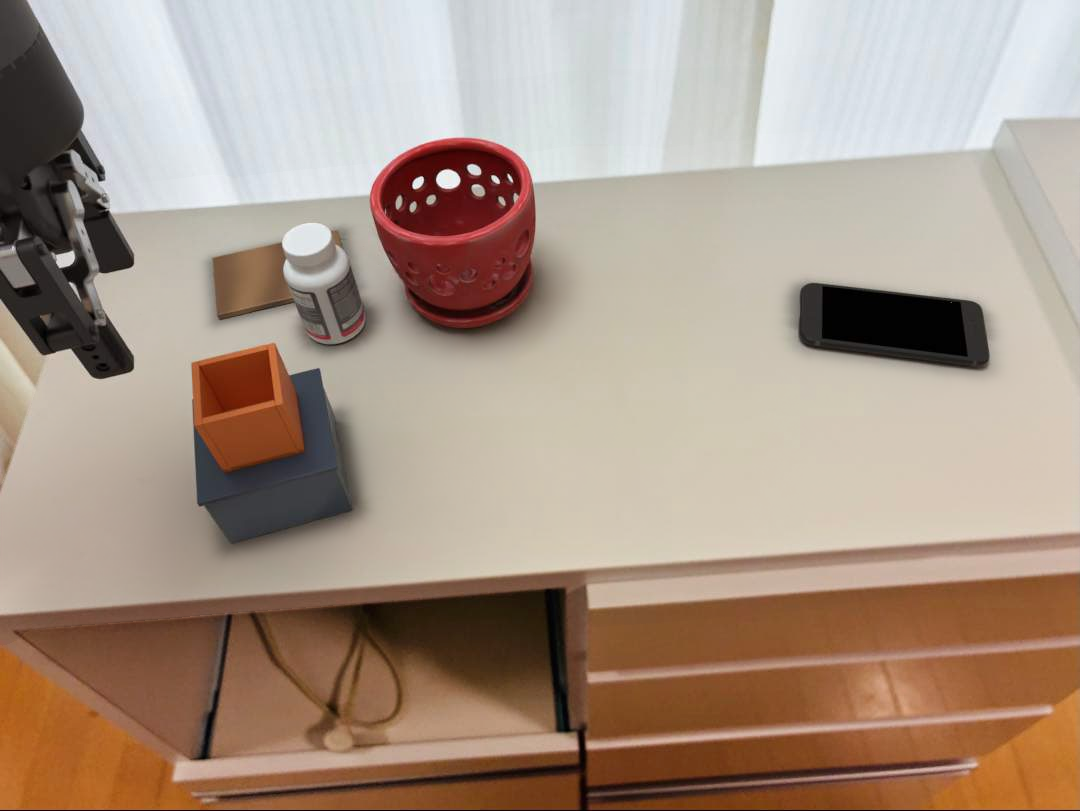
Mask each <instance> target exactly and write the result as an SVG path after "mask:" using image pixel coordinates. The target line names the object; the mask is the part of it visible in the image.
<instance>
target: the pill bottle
mask: <svg viewBox="0 0 1080 811" xmlns="http://www.w3.org/2000/svg"><path fill="white" fill-rule="evenodd" d="M331 231H332V230H330V228H329V227H328V226H326V225H325V224H323V223H319V222H307V223H301V224H298V225H296V226H294V227H292V228H291V229H289V230H288V231H287V232H286V233H285V235H284V236H283V238H282V240H281V242H282V247H283V250H284V253H285V255H286V258H287V259H286V261H285V263H284V267H283V273H284V277H285V281H286V282H287V285H288V287H289V290H290V292H291V295H292V297H293V300H294V302H293V303H294V305H295V308H296V309H297V313H298V315H299V317H300V318H299V319H300V320H301V322H302V325H303V327H304V329H305V332H306V334H307V335H308V337H309V338H310V339H312V340H313V341H315V342H316V343H319V344H324V345H336V344H341V343H345V342H347V341H349V340H351V339H353V338H354V337H355V336H357V335H358V334H359V333H360V332H361V330H363V328H364V326H365V323H366V320H367V319H366V316H367V315H366V312H365V308H364V304H363V301H362V298H361V295H360V291H359V287H358V285H357V280H356V278H355V275H354V272H353V268H352V264H351V260H350V258H349V256H348V254H347V252H346V251H345V250H344V249H343V247H342V248H341V247H339V246H338V245H336V244H335V241H334V239H333V236H332V233H331Z"/></svg>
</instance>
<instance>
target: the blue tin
mask: <svg viewBox="0 0 1080 811" xmlns="http://www.w3.org/2000/svg"><path fill="white" fill-rule="evenodd" d="M289 376H290V379H291V381H292V383H293V385H294V388H295V390H296V392H297V398H298V404H299V411H300V417H301V424H302V431H303V437H304V444H305V450H306V452H304V453H300V454H296V455H292V456H289V457H285V458H281V459H277V460H273V461H270V462H266V463H262V464H258V465H254V466H250V467H247V468H243V469H239V470H235V471H231V472H228V473H224V472H223V470H222V469H221V467H220V466H219V464H218V462H217V461H216V459H215V458H214V456H213V455H212V453H211V451H210V450H209V448H208V447H207V445H206V443H205V442H204V440H203V439H202V437H201V435H200V434H199V432H198V431H197V429H196V428H195V426H194V407H193V398H192V399H191V404H192V405H191V407H192V426H193V444H194V448H193V449H194V464H195V465H194V466H195V467H194V468H195V487H196V504H197V506H198V507H200V508H201V507H204V508H205V509H206V511H207V512H208V514H209V515H210V516H211V518H212V519H213V521H214V522H215V524H216V525H217V526H218V528H219V529H220V531H221V532H222V534H223V535H224V537H225V538H226V539H227V540H228V542H229V543H230V544H234V543H237V542H241V541H245V540H248V539H252V538H256V537H259V536H263V535H267V534H270V533H274V532H277V531H281V530H285V529H289V528H292V527H295V526H300V525H304V524H306V523H307V524H308V523H310V522H314V521H318V520H321V519H325V518H328V517H332V516H336V515H339V514H342V513H343V514H344V513H347V512H350V511H353V510H354V508H353V503H352V497H351V492H350V487H349V481H348V476H347V475H348V474H347V470H346V466H345V459H344V454H343V449H342V448H343V447H342V443H341V439H340V438H341V437H340V432H339V428H338V427H339V426H338V422H337V417H336V414H335V412H334V410H333V407H332V405H331V403H330V400H329V398H328V395H327V392H326V390H325V387H324V383H323V377H322V372H321V369H320V367H316V368H312V369H309V370H305V371H301V372H297V373H296V372H295V373H292V374H289Z"/></svg>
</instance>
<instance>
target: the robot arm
mask: <svg viewBox="0 0 1080 811" xmlns="http://www.w3.org/2000/svg"><path fill="white" fill-rule="evenodd" d="M84 121H85V109H84V105H83V102H82V100H81V98H80V96H79V94H78V92H77V91H76V89H75V86H74V85H73V83H72V81H71V78H69V76H68V73H67V71H66V69H65V68H64V66H63V64H62V63H61V61H60V59H59V57H58V55H57V53H56V51H55V50H54V48H53V46H52V44H51V42H50V40H49V38H48V36H47V34H46V32H45V30H44V29H43V27H42V25H41V23H40V22H39V20H38V17H37V16H36V14H35V12H34V11H33V8H32V7H31V5H30V3H29V1H28V0H0V301H1V303H3V305H4V307H5V308H6V309H7V311H8V312H9V313H10V314H11V316H12V317H13V319H14V320H15V321H16V323H17V324H18V325H19V327H20V328H21V330H22V331H23V333H24V334H25V335H26V336H27V338H28V339H29V341H30V342H31V343H32V345H33V346H34V347H35V349H36V350H37V351H38V353H39V354H40V355H42V356H49V355H52V354H56V353H58V352H63V351H66V350H71V351H72V353H73V354H74V355H75V356H76V358H77V359H78V361H79V363H80V364H81V365H82V366H83V368H84V369H85V370H86V372H87V373H88V375H90V377H91V378H93V379H97V380H105V379H109V378H113V377H117V376H121V375H125V374H129V373H131V372H133V371H134V369H135V356H134V354H133V352H132V350H130V348H129V346H128V344H126V341H125V340H124V339H123V338H122V336H121V334H120V333H119V332H118V329H117V328H116V326H115V324H114V323H113V322H112V321H111V319H110V317H109V316H108V315H107V313H106V311H105V308H103V305H102V302H101V299H100V297H99V293H98V291H97V289H96V286H95V283H94V279H95V278H96V277H97V276H98V274H99V273H100V274H111V273H114V272H119V271H124V270H128V269H131V268H133V267H134V265H135V253H134V251H133V249H132V248H131V246H130V244H129V242H128V241H127V239H126V237H125V235H124V234H123V231H122V230H121V228H120V227H119V225H118V223H117V221H116V220H115V218H114V216H113V214H112V213H111V211H110V209H111V203H110V202H111V199H110V196H109V194H108V193H107V192H106V190H105V188H103V187H102V186H100V183H101V182H105V181H106V169H105V167H104V166H103V164H102V163H101V162H100V160H99V159H98V156H97V154H96V153H95V151H94V150H93V148H92V146H91V144H90V143H89V141H88V139H87V137H86V136H85V134H84V132H83V131H82V128H83V126H84ZM72 251H73V254H74V260H73V261H72V263H71V264H70V265H67V266H63V267H60V266H59V265H58V263H57V261H58V259H57V256H59V255H63V254H68V253H71V252H72ZM71 284H72V285H73V286H74V287H75V288H76V291H77V293H76V292H75V290H74V288H73V287H72V285H71ZM77 294H78V295H77Z"/></svg>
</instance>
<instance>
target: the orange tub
mask: <svg viewBox="0 0 1080 811" xmlns="http://www.w3.org/2000/svg"><path fill="white" fill-rule="evenodd" d="M190 364H191V365H190V366H191V384H192V387H191V388H192V399H193V407H194V426H195V428H196V429H197V431H198V432H199V434H200V435H201V437H202V439H203V440H204V442H205V443H206V445H207V447H208V448H209V450H210V451H211V453H212V455H213V456H214V458H215V459H216V461H217V462H218V464H219V466H220V467H221V469H222V470H223V472H224V473H228V472H231V471H235V470H239V469H243V468H247V467H250V466H254V465H258V464H262V463H266V462H270V461H273V460H277V459H281V458H285V457H289V456H292V455H296V454H300V453H304V452H306V450H305V444H304V437H303V431H302V424H301V417H300V411H299V404H298V398H297V392H296V390H295V388H294V385H293V383H292V381H291V379H290V376H289V375H290V374H289V372H288V370H287V368H286V365H285V363H284V361H283V358H282V356H281V354H280V352H279V349H278V347H277V344H276V343H275V342H271V343H270V342H269V343H268V344H262V345H258V346H254V347H250V348H246V349H241V350H237V351H233V352H229V353H225V354H221V355H218V356H212V357H209V358H204V359H200V360H196V361H192V362H191V363H190Z"/></svg>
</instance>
